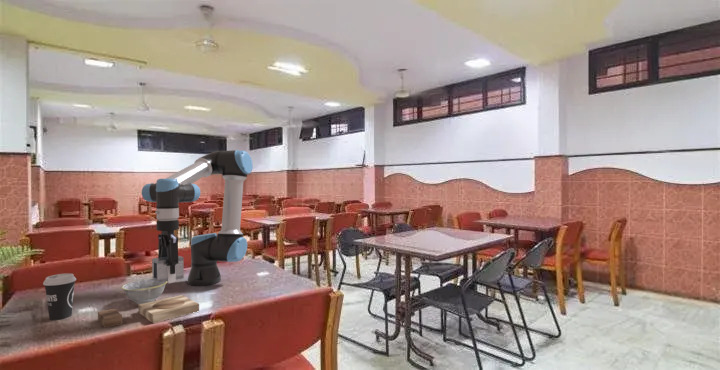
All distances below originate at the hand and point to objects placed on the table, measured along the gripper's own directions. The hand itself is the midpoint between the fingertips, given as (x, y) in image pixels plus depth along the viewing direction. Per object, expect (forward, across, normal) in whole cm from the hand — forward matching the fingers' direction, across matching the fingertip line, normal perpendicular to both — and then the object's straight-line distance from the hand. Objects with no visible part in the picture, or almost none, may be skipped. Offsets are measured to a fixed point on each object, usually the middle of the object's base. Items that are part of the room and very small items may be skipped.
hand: (168, 280), depth 143 cm
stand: (+12, -5, -18) cm, 22 cm away
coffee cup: (+12, -24, -29) cm, 40 cm away
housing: (-1, 0, 0) cm, 1 cm away
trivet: (+12, 0, 0) cm, 12 cm away
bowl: (+12, -20, -2) cm, 24 cm away
